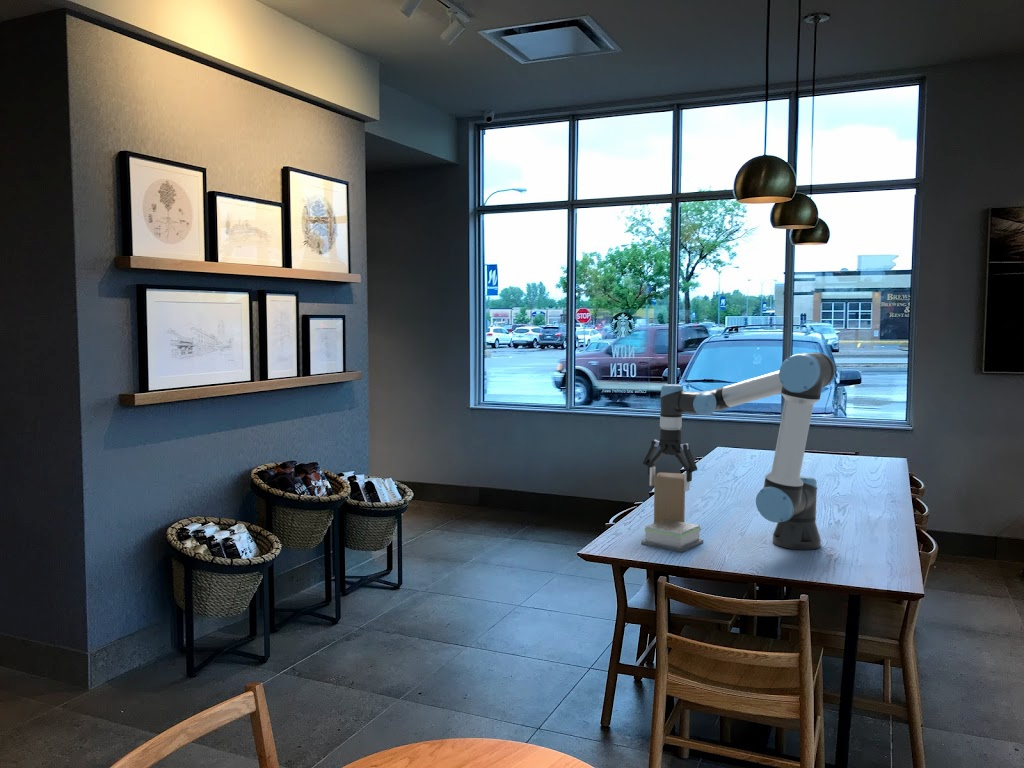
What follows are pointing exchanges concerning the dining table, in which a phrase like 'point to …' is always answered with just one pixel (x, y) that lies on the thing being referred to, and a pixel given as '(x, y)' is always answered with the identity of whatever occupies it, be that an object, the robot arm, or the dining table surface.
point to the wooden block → (669, 497)
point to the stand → (672, 535)
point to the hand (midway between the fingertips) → (669, 487)
